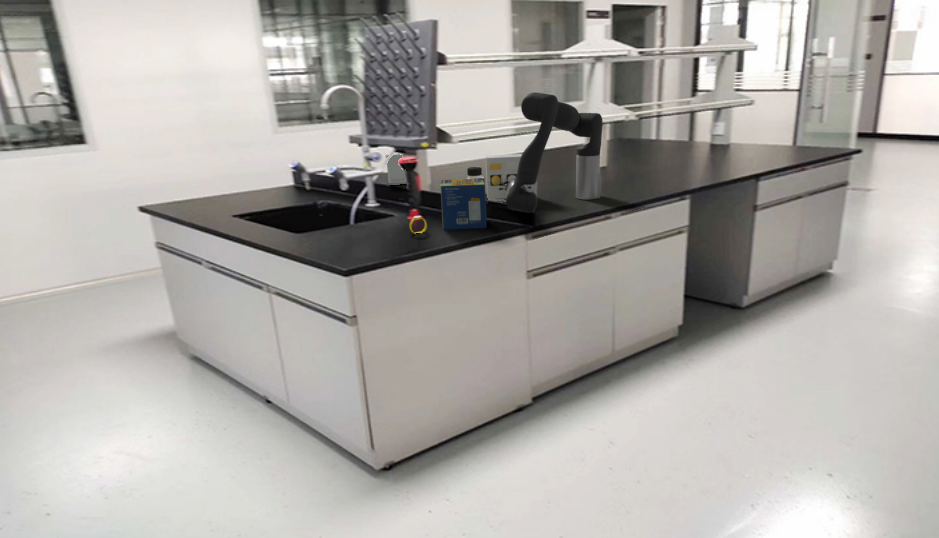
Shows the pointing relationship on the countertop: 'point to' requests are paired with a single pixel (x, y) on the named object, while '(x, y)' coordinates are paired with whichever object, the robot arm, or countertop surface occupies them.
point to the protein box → (463, 203)
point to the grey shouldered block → (395, 169)
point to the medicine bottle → (474, 173)
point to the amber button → (495, 179)
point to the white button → (511, 177)
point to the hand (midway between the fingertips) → (512, 181)
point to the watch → (417, 219)
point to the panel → (502, 173)
